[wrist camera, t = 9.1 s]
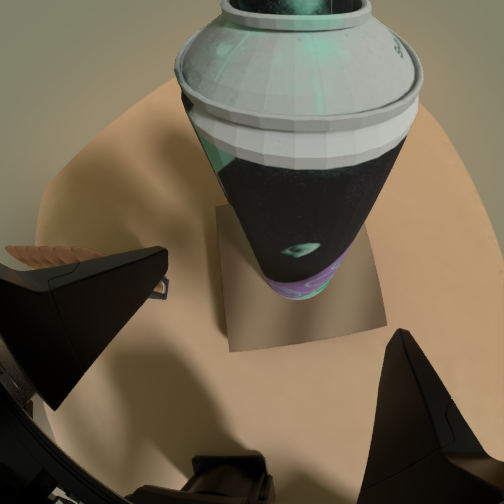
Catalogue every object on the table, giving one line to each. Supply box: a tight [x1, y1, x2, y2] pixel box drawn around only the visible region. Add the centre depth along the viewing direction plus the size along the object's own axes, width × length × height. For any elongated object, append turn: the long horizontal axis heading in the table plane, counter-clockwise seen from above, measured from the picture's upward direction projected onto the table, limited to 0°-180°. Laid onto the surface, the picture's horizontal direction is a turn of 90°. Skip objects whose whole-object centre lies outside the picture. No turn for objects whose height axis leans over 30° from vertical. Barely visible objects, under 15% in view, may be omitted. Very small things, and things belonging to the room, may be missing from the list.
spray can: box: [174, 0, 423, 300], centre depth 11 cm, size 6×6×20 cm
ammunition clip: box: [5, 246, 169, 300], centre depth 20 cm, size 11×2×12 cm, turn 86°
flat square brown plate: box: [216, 204, 387, 352], centre depth 22 cm, size 12×12×2 cm
